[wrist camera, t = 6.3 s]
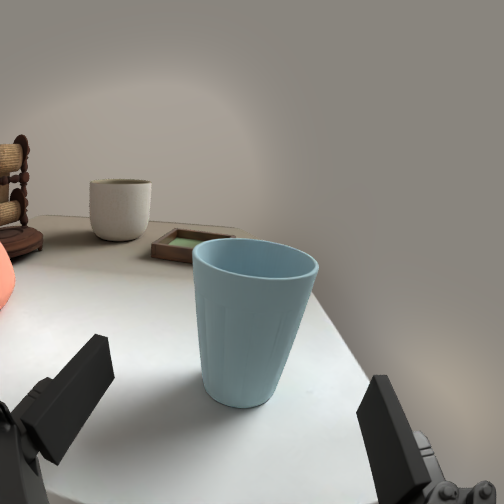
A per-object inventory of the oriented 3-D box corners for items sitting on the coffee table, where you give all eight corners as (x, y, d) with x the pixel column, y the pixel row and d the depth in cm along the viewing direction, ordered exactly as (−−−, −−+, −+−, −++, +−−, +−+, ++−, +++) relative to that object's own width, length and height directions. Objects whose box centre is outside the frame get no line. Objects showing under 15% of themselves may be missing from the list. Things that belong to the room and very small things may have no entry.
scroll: (16, 238, 45) (16, 138, 39) (59, 249, 43) (62, 131, 37) (-39, 258, 31) (-43, 140, 25) (-4, 276, 29) (-9, 129, 23)
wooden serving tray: (234, 247, 57) (235, 235, 56) (224, 268, 45) (225, 253, 44) (174, 239, 57) (174, 227, 56) (150, 257, 45) (151, 243, 45)
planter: (161, 235, 58) (164, 182, 55) (118, 249, 47) (119, 185, 44) (119, 226, 62) (121, 178, 59) (77, 236, 51) (77, 181, 48)
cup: (187, 353, 24) (192, 233, 21) (274, 353, 25) (295, 241, 22) (189, 419, 17) (192, 274, 14) (300, 414, 18) (339, 280, 15)
